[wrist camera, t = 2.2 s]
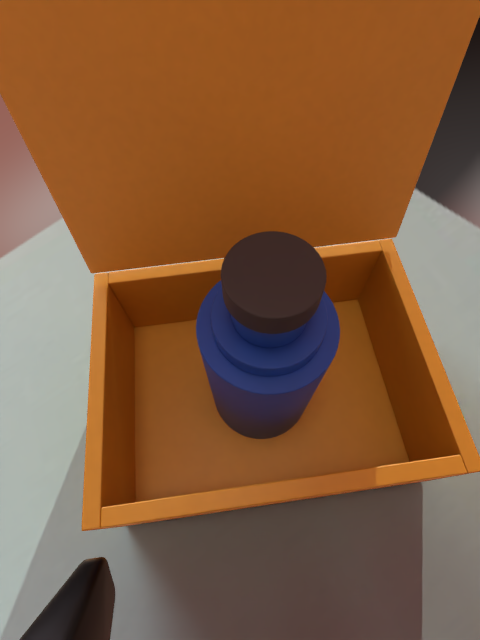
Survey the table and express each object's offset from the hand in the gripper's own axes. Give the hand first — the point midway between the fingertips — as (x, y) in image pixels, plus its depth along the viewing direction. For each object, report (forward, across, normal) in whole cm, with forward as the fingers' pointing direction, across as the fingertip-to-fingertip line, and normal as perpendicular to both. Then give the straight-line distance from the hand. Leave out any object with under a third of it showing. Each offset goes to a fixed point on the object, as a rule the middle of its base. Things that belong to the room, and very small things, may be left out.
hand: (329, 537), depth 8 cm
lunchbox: (+14, 0, +4) cm, 14 cm away
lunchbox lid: (+10, 0, -9) cm, 13 cm away
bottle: (+13, 0, +4) cm, 14 cm away
